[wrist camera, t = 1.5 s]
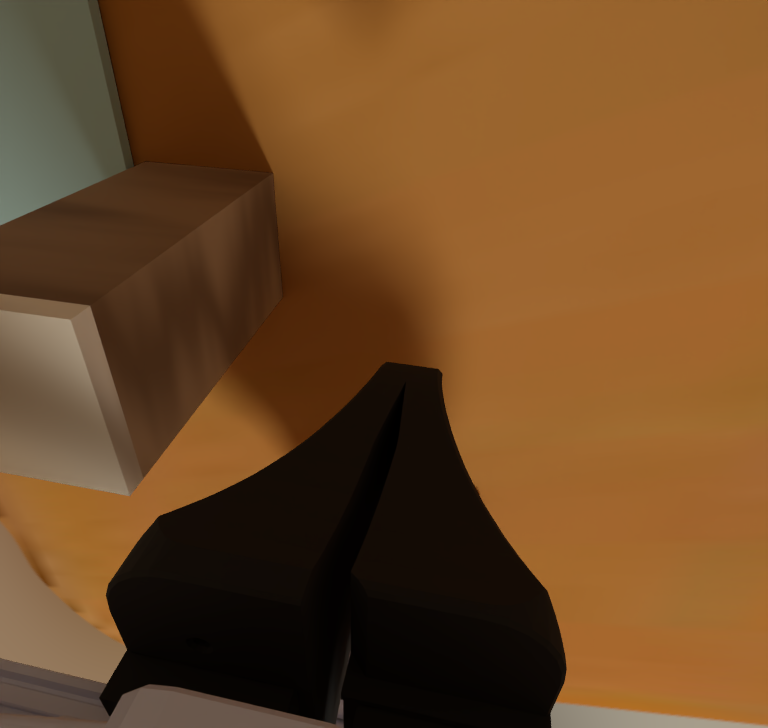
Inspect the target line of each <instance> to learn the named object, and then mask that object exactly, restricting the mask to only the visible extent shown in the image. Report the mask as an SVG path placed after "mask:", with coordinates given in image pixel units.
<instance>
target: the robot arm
mask: <svg viewBox="0 0 768 728" xmlns="http://www.w3.org/2000/svg"><path fill="white" fill-rule="evenodd" d="M106 597H107V601H108V605H109V609H110V612H111V615H112V617H113V619H114V621H115V623H116V626H117V628H118V630H119V632H120V635H121V637H122V639H123V641H124V643H125V646H126V648H127V651H126V653H125V654H124V656H123V658H122V660H121V661H120V663H119V665H118V666H117V668H116V670H115V671H114V673H113V675H112V676H111V678H110V680H109V682H108V683H107V684H105V683H101V682H96V681H93V680H88V679H84V678H80V677H75V676H71V675H67V674H63V673H59V672H54V671H51V670H46V669H42V668H38V667H34V666H30V665H26V664H22V663H17V662H13V661H9V660H5V659H1V658H0V728H551V717H550V713H551V710H552V708H553V706H554V704H555V702H556V699H557V697H558V695H559V693H560V691H561V688H562V686H563V684H564V681H565V676H566V670H567V669H566V659H565V653H564V648H563V642H562V638H561V633H560V629H559V626H558V622H557V619H556V615H555V612H554V609H553V606H552V603H551V600H550V597H549V594H548V592H547V590H546V589H545V588H544V587H543V585H542V584H541V583H540V582H539V581H538V580H537V578H536V577H535V576H534V575H533V574H532V572H531V571H530V570H529V569H528V567H527V566H526V565H525V564H524V562H523V561H522V560H521V559H520V557H519V556H518V555H517V553H516V552H515V550H514V549H513V548H512V546H511V545H510V544H509V542H508V541H507V539H506V538H505V537H504V535H503V534H502V532H501V530H500V529H499V527H498V526H497V524H496V522H495V521H494V519H493V518H492V516H491V515H490V513H489V511H488V510H487V508H486V507H485V505H484V503H483V501H482V500H481V498H480V496H479V494H478V492H477V490H476V488H475V487H474V485H473V482H472V480H471V478H470V476H469V474H468V472H467V470H466V468H465V465H464V463H463V461H462V458H461V456H460V453H459V451H458V448H457V445H456V443H455V440H454V437H453V434H452V431H451V427H450V424H449V420H448V416H447V413H446V408H445V404H444V398H443V392H442V373H441V372H440V370H439V369H434V368H427V367H420V366H413V365H405V364H398V363H391V362H386V363H385V364H383V365H382V366H381V367H380V368H379V370H378V371H377V372H376V373H375V375H374V376H373V377H372V378H371V379H370V380H369V382H368V383H367V384H366V385H365V386H364V387H363V388H362V389H361V390H360V391H359V392H358V394H357V395H356V396H355V397H354V398H353V399H352V400H351V401H350V402H349V403H348V404H347V405H346V406H345V407H344V408H343V409H342V410H341V411H339V412H338V413H337V414H336V415H335V416H334V417H333V418H332V419H330V420H329V421H328V422H327V423H326V424H325V425H324V426H323V427H321V428H320V429H319V430H318V431H317V432H315V433H314V434H313V435H312V436H310V437H309V438H308V439H307V440H305V441H304V442H303V443H301V444H300V445H299V446H297V447H296V448H294V449H293V450H292V451H290V452H289V453H287V454H286V455H284V456H283V457H281V458H280V459H278V460H277V461H275V462H273V463H272V464H270V465H269V466H267V467H265V468H264V469H262V470H260V471H259V472H257V473H255V474H254V475H252V476H250V477H248V478H246V479H244V480H242V481H240V482H238V483H236V484H235V485H232V486H230V487H228V488H226V489H224V490H222V491H220V492H218V493H216V494H213V495H211V496H209V497H207V498H204V499H202V500H199V501H197V502H194V503H192V504H189V505H187V506H184V507H182V508H179V509H177V510H174V511H171V512H169V513H166V514H163V515H160V516H159V517H158V518H157V519H156V520H155V522H154V523H153V524H152V525H151V526H150V527H149V529H148V530H147V531H146V532H145V533H144V534H143V536H142V537H141V538H140V540H139V541H138V542H137V544H136V545H135V546H134V548H133V549H132V551H131V552H130V554H129V555H128V557H127V558H126V559H125V561H124V562H123V564H122V565H121V567H120V568H119V570H118V571H117V573H116V574H115V576H114V577H113V578H112V580H111V581H110V583H109V584H108V589H107V593H106Z"/></svg>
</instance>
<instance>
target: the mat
mask: <svg viewBox="0 0 768 728" xmlns="http://www.w3.org/2000/svg"><path fill="white" fill-rule="evenodd" d="M132 167H134V164H133V160H132V155H131V151H130V146H129V142H128V137H127V132H126V128H125V123H124V119H123V114H122V110H121V105H120V101H119V96H118V92H117V87H116V83H115V78H114V73H113V69H112V64H111V60H110V55H109V51H108V46H107V42H106V37H105V33H104V28H103V24H102V19H101V15H100V10H99V5H98V1H97V0H0V225H2V224H5V223H7V222H9V221H11V220H14V219H16V218H18V217H20V216H23V215H25V214H27V213H30V212H32V211H34V210H36V209H39V208H41V207H43V206H45V205H48V204H50V203H52V202H54V201H57V200H59V199H61V198H64V197H66V196H68V195H70V194H73V193H75V192H77V191H79V190H82V189H84V188H86V187H89V186H91V185H93V184H95V183H98V182H100V181H102V180H104V179H107V178H109V177H111V176H113V175H116V174H118V173H120V172H123V171H125V170H127V169H129V168H132Z"/></svg>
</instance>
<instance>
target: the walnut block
mask: <svg viewBox="0 0 768 728" xmlns="http://www.w3.org/2000/svg"><path fill="white" fill-rule="evenodd" d="M282 297H283V293H282V280H281V268H280V255H279V243H278V230H277V217H276V205H275V192H274V180H273V173H268V172H257V171H246V170H235V169H224V168H213V167H202V166H191V165H180V164H169V163H158V162H147V161H145V162H143V163H141V164H138V165H136V166H134V167H132V168H129V169H127V170H125V171H123V172H120V173H118V174H116V175H113V176H111V177H109V178H107V179H104V180H102V181H100V182H98V183H95V184H93V185H91V186H89V187H86V188H84V189H82V190H79V191H77V192H75V193H73V194H70V195H68V196H66V197H64V198H61V199H59V200H57V201H54V202H52V203H50V204H48V205H45V206H43V207H41V208H39V209H36V210H34V211H32V212H30V213H27V214H25V215H23V216H20V217H18V218H16V219H14V220H11V221H9V222H7V223H5V224H2V225H0V472H3V473H8V474H14V475H19V476H25V477H30V478H35V479H41V480H46V481H52V482H57V483H62V484H68V485H73V486H79V487H84V488H89V489H95V490H100V491H106V492H111V493H116V494H122V495H127V496H130V495H131V494H132V493H133V491H134V490H135V489H136V488H137V486H138V485H139V484H140V482H141V481H142V480H143V478H144V477H145V476H146V474H147V473H148V472H149V471H150V469H151V468H152V467H153V465H154V464H155V463H156V461H157V460H158V459H159V458H160V456H161V455H162V454H163V452H164V451H165V450H166V448H167V447H168V446H169V445H170V443H171V442H172V441H173V439H174V438H175V437H176V435H177V434H178V433H179V432H180V430H181V429H182V428H183V426H184V425H185V424H186V422H187V421H188V420H189V418H190V417H191V416H192V415H193V413H194V412H195V411H196V409H197V408H198V407H199V405H200V404H201V403H202V402H203V400H204V399H205V398H206V396H207V395H208V394H209V392H210V391H211V390H212V389H213V387H214V386H215V385H216V383H217V382H218V381H219V379H220V378H221V377H222V376H223V374H224V373H225V372H226V370H227V369H228V368H229V366H230V365H231V364H232V362H233V361H234V360H235V359H236V357H237V356H238V355H239V353H240V352H241V351H242V349H243V348H244V347H245V346H246V344H247V343H248V342H249V340H250V339H251V338H252V336H253V335H254V334H255V333H256V331H257V330H258V329H259V327H260V326H261V325H262V323H263V322H264V321H265V320H266V318H267V317H268V316H269V314H270V313H271V312H272V310H273V309H274V308H275V307H276V305H277V304H278V303H279V301H280V300H281V299H282Z"/></svg>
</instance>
